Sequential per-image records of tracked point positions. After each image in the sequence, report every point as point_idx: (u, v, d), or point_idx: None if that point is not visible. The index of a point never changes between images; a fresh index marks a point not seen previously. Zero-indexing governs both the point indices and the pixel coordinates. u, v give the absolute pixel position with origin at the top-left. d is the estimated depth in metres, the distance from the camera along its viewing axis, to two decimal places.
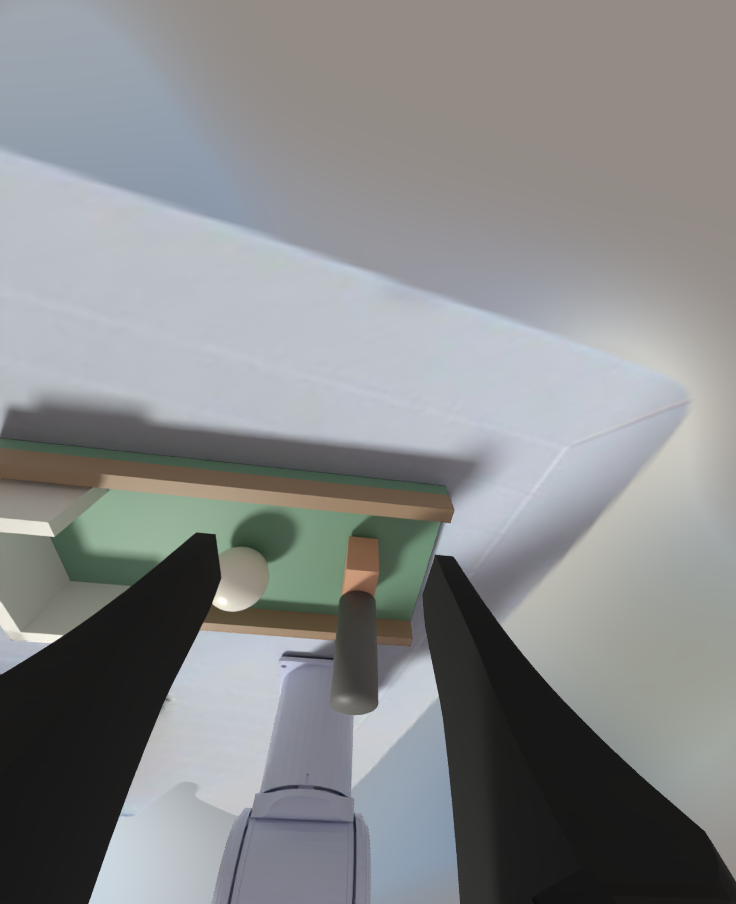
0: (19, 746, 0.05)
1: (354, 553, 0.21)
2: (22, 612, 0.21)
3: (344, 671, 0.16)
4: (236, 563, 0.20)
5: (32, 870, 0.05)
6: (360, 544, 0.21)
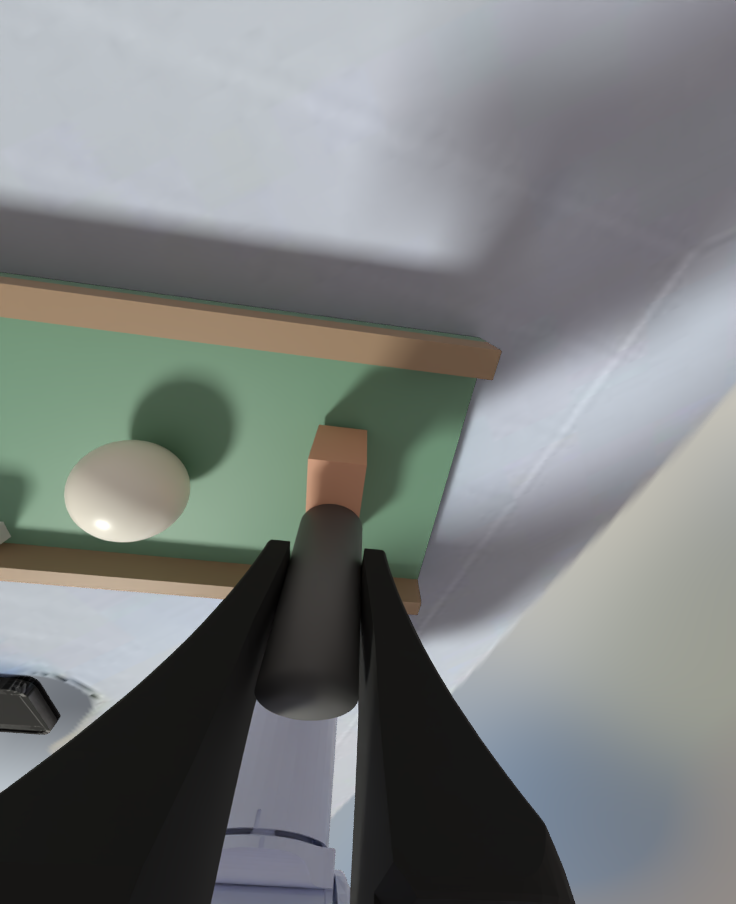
0: (186, 755, 0.05)
1: (325, 442, 0.12)
2: None
3: (288, 629, 0.08)
4: (118, 454, 0.12)
5: (189, 875, 0.05)
6: (337, 433, 0.13)
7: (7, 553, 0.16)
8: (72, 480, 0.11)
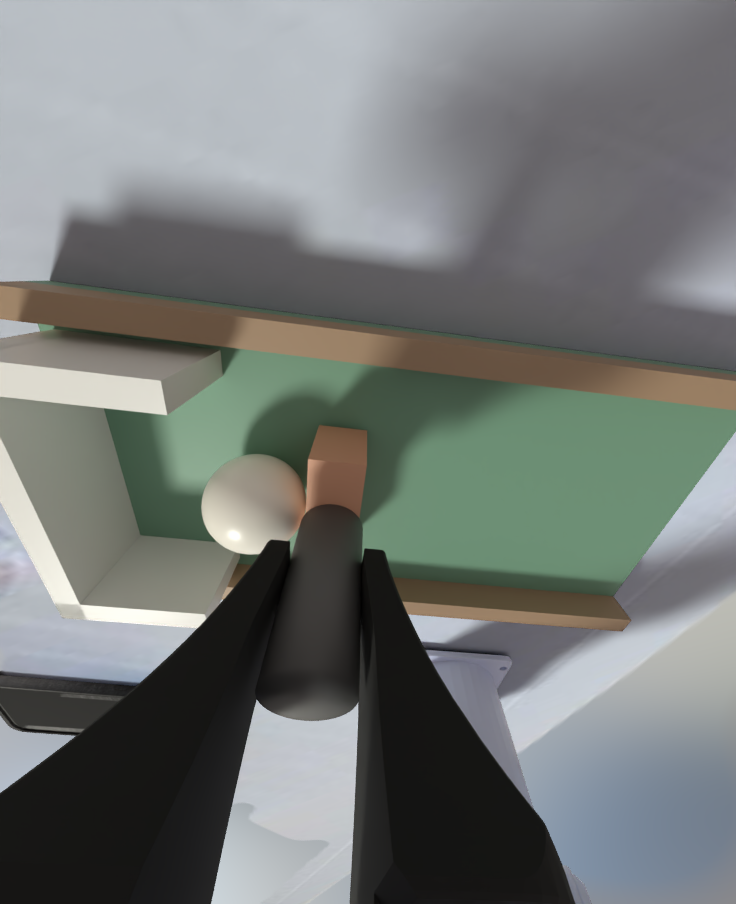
0: (186, 755, 0.05)
1: (325, 442, 0.12)
2: (82, 573, 0.13)
3: (288, 629, 0.08)
4: (255, 456, 0.13)
5: (189, 875, 0.05)
6: (337, 434, 0.13)
7: (241, 574, 0.17)
8: (292, 468, 0.14)
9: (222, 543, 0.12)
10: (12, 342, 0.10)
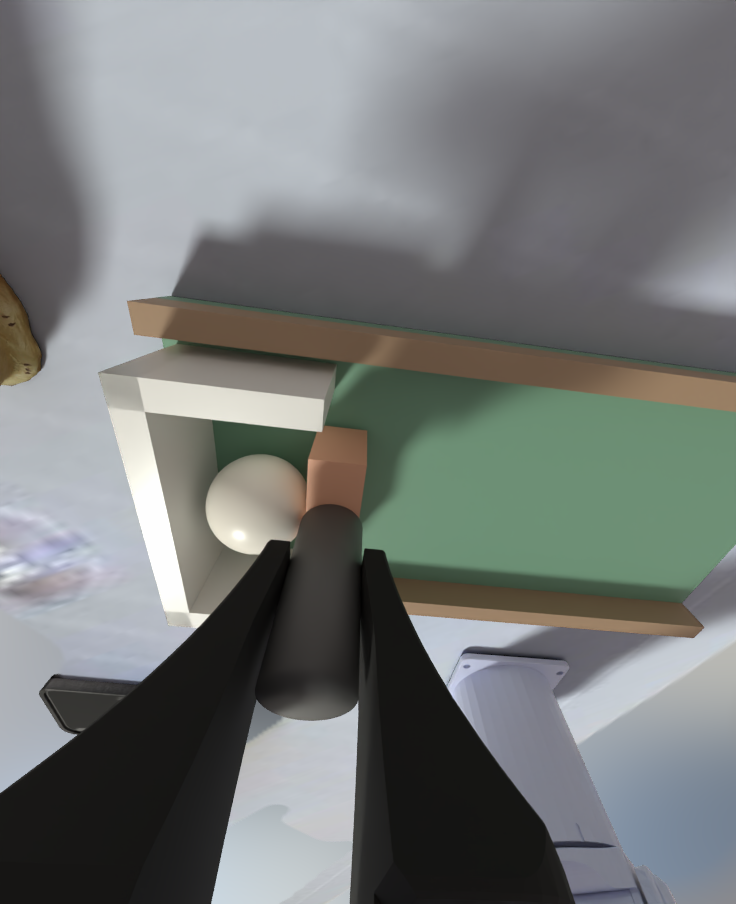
0: (186, 755, 0.05)
1: (325, 442, 0.12)
2: (192, 581, 0.13)
3: (288, 629, 0.08)
4: (270, 466, 0.12)
5: (189, 875, 0.05)
6: (337, 434, 0.13)
7: None
8: (251, 504, 0.11)
9: None
10: (159, 358, 0.10)
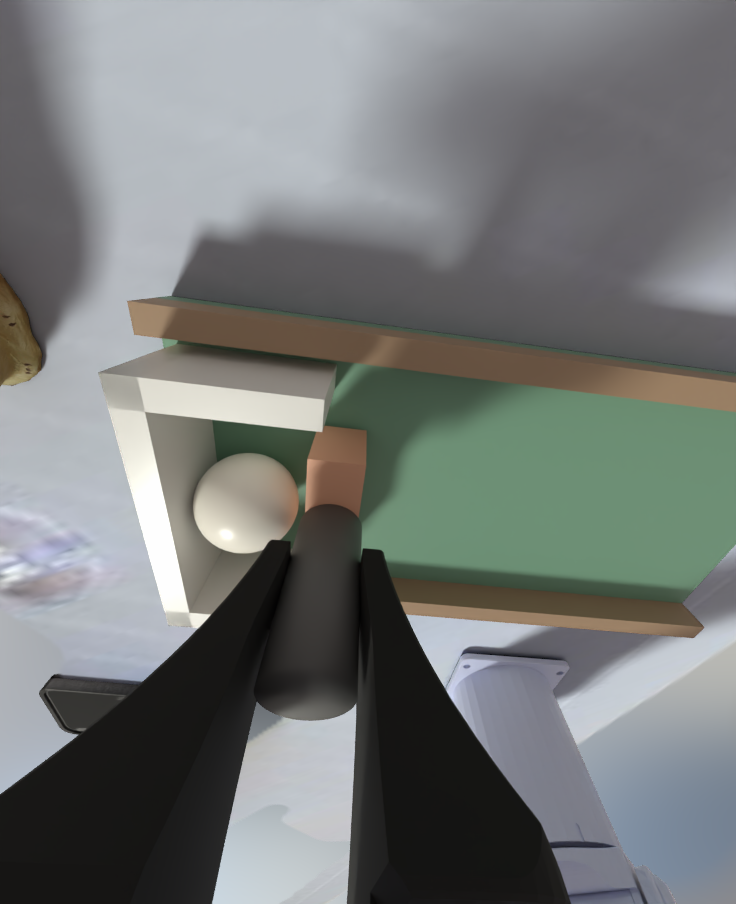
0: (188, 755, 0.05)
1: (324, 442, 0.12)
2: (192, 581, 0.13)
3: (287, 629, 0.08)
4: (255, 467, 0.12)
5: (191, 875, 0.05)
6: (336, 434, 0.13)
7: None
8: (226, 502, 0.11)
9: None
10: (159, 358, 0.10)
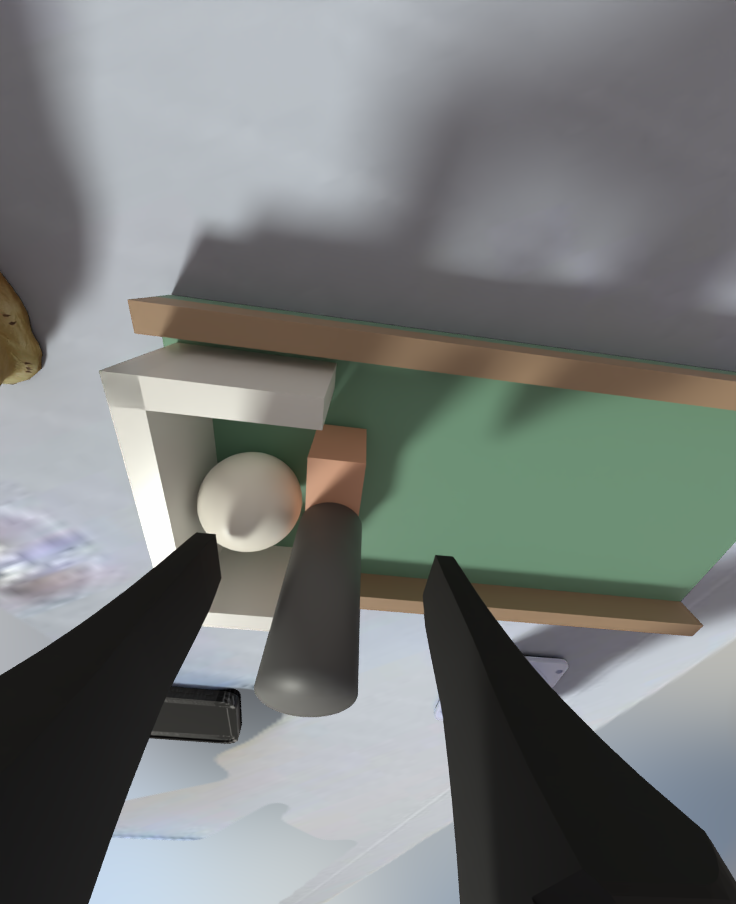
0: (19, 745, 0.05)
1: (324, 441, 0.12)
2: None
3: (288, 626, 0.08)
4: (259, 465, 0.12)
5: (32, 869, 0.05)
6: (336, 432, 0.13)
7: None
8: (234, 501, 0.11)
9: None
10: (159, 357, 0.10)
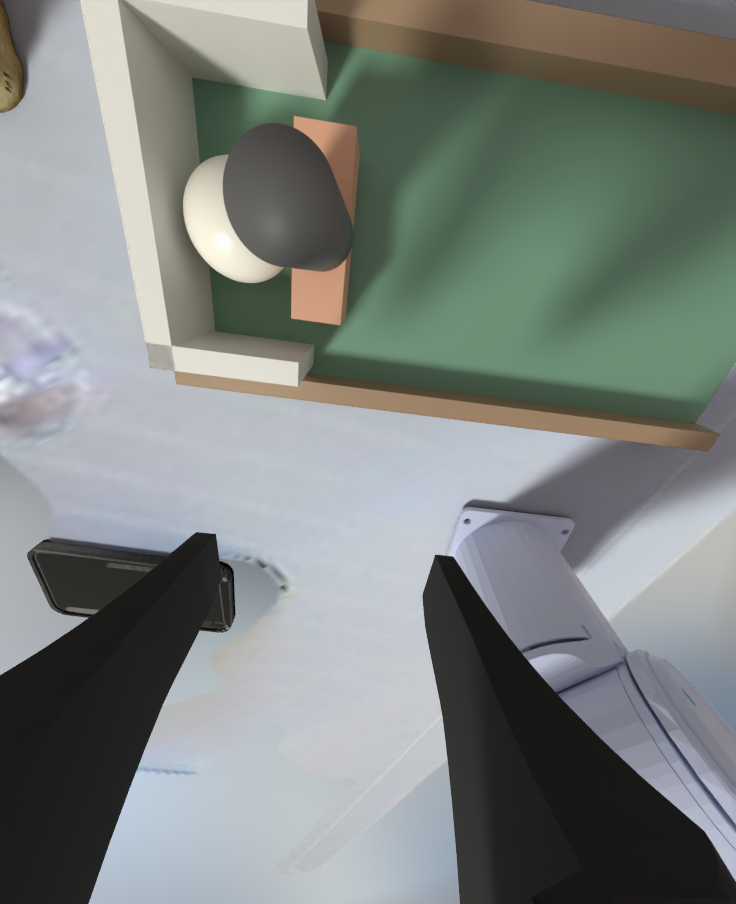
0: (19, 746, 0.05)
1: None
2: (175, 313, 0.13)
3: None
4: None
5: (32, 870, 0.05)
6: None
7: (315, 377, 0.17)
8: None
9: None
10: None
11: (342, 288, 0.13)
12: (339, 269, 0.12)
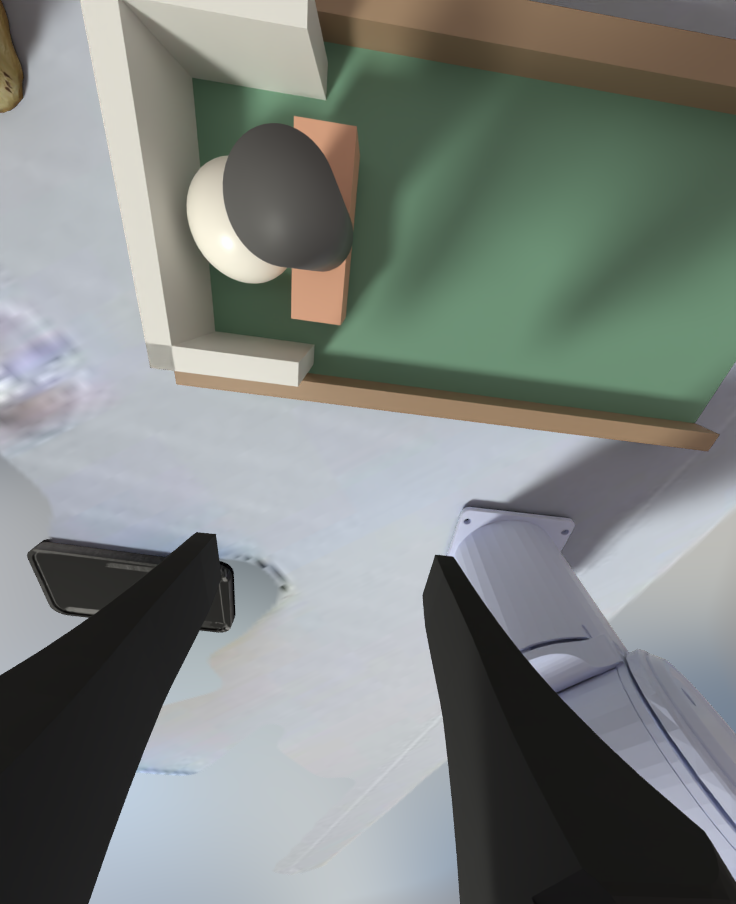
0: (19, 746, 0.05)
1: None
2: (175, 313, 0.13)
3: None
4: None
5: (32, 870, 0.05)
6: None
7: (315, 377, 0.17)
8: None
9: None
10: None
11: (342, 288, 0.13)
12: (339, 269, 0.12)
